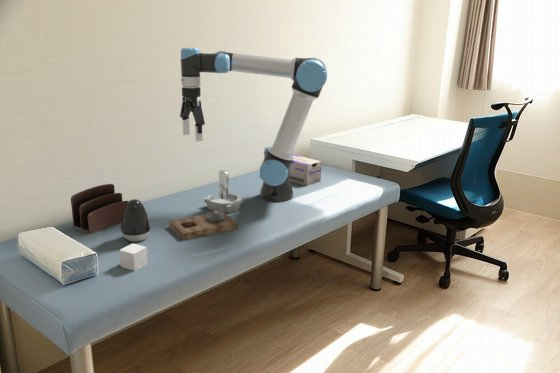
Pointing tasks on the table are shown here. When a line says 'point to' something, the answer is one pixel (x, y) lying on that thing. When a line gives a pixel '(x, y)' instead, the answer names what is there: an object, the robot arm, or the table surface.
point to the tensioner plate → (203, 225)
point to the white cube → (133, 256)
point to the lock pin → (223, 184)
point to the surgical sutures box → (305, 170)
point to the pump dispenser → (135, 221)
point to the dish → (224, 203)
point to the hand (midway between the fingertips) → (192, 137)
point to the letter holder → (97, 208)
